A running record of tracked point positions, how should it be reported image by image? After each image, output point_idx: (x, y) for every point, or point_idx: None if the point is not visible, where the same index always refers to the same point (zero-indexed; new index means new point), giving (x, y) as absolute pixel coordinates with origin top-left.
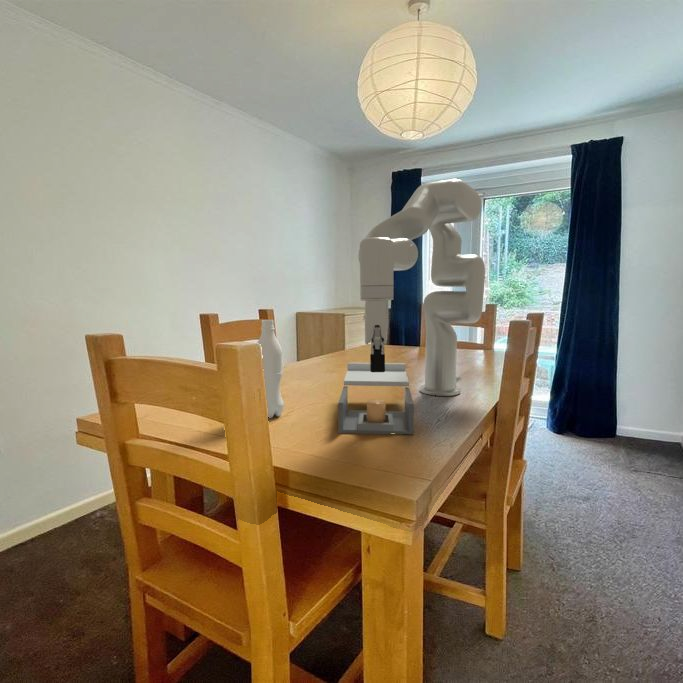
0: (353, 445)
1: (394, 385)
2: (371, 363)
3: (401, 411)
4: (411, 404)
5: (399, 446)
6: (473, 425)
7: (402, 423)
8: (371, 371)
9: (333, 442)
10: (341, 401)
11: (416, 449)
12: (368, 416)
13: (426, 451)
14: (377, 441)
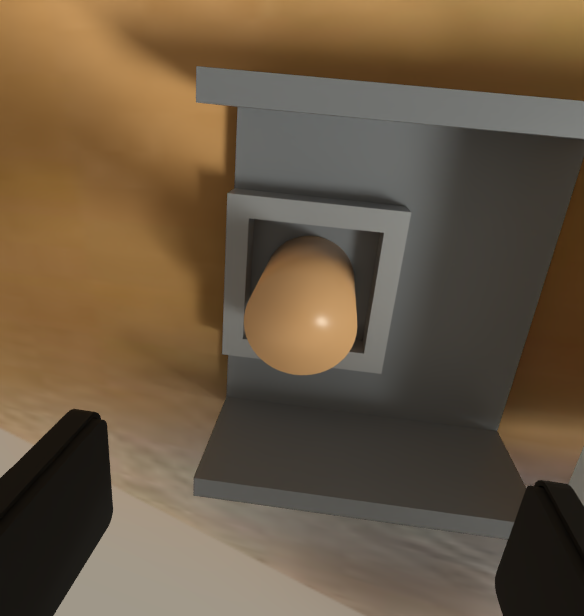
0: (96, 157)
1: (572, 484)
2: (16, 473)
3: (494, 417)
4: (194, 484)
5: (112, 336)
6: (326, 595)
7: (322, 391)
8: (72, 414)
9: (117, 57)
10: (223, 91)
11: (94, 384)
12: (279, 256)
13: (82, 409)
14: (151, 263)
